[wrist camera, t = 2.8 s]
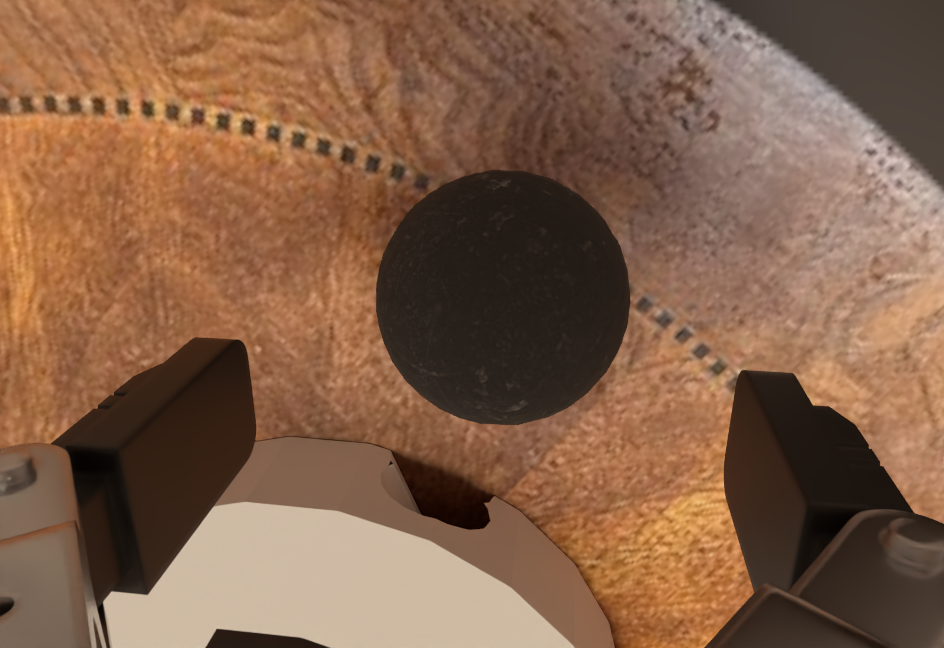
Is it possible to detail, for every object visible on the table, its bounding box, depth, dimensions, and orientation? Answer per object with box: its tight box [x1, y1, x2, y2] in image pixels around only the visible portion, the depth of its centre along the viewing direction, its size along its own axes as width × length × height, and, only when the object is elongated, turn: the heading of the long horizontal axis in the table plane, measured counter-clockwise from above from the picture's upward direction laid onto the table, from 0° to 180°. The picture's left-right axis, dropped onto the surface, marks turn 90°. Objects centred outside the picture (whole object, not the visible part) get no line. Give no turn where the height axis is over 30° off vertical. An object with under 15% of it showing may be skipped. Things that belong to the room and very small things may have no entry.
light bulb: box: [376, 170, 630, 425], centre depth 19 cm, size 6×6×10 cm
